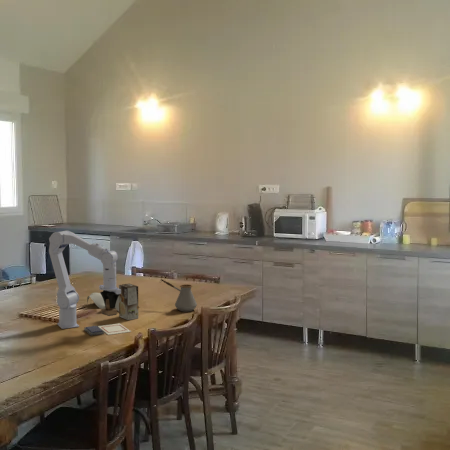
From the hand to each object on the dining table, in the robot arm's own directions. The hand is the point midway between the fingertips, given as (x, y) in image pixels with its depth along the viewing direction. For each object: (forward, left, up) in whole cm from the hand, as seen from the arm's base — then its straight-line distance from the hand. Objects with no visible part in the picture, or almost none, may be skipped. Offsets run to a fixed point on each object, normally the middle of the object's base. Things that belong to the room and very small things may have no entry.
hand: (110, 307), depth 250 cm
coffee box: (-17, +15, -11) cm, 25 cm away
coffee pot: (-22, +44, -11) cm, 50 cm away
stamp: (0, -1, -3) cm, 3 cm away
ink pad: (0, -7, -10) cm, 13 cm away
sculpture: (-43, +15, -11) cm, 47 cm away
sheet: (0, +2, -10) cm, 10 cm away
